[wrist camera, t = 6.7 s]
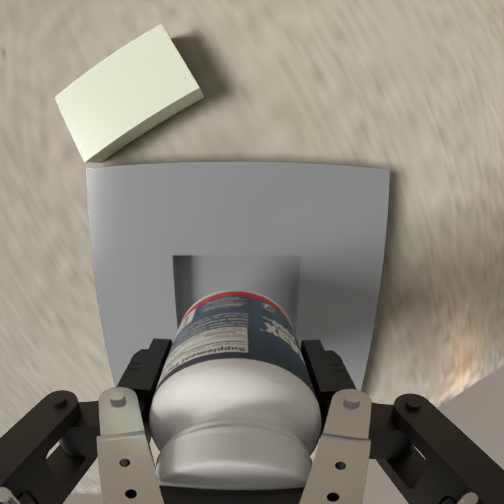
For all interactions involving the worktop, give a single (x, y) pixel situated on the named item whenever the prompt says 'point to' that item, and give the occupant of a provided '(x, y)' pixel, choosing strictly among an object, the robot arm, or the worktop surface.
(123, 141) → the soap bar
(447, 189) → the worktop surface
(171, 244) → the grey square slab
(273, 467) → the pill bottle
